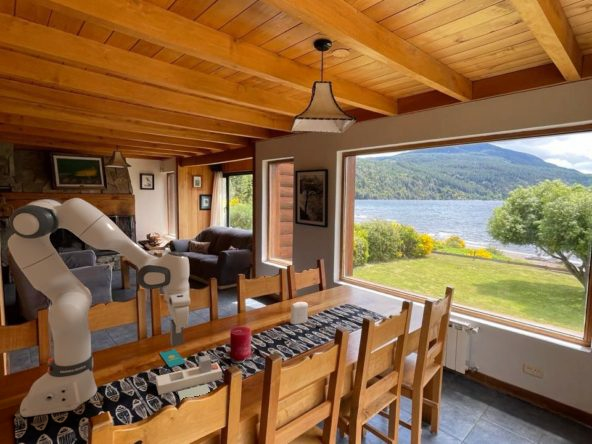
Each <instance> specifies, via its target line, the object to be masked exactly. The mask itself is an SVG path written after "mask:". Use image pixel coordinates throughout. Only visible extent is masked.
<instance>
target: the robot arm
mask: <svg viewBox="0 0 592 444" xmlns="http://www.w3.org/2000/svg"><path fill="white" fill-rule="evenodd" d="M9 217H10V218H9V227H10V229H11V230H12V232H13V234H11V236H10V237H9V238H8V241H7V247H8V249H9V252H10V254H11V256H12V258H13V260H14V262H15V263H16V265H17V266H18V267H19V269H20V270H21V272H22V273H23V274H24V276H25V277H26V279H27V280H28V282H29V283H30V284H31V286H32V287H33V289H35V290H36V291H38V292H41V293H42V294H43V295H44V296H46V297H47V298H48V299H49V300H50V301H51V303H52V304H51V306H50V307H49V309H48V315H47V317H48V318H47V319H48V320H47V321H48V324H49V326H50V332H51V336H52V339H53V355H54V356H53V357H50V358H48V360H47V371H46V373H45V374H43V375H42V376H41V377H39V378H38V379H36V380H35V381H34V382H33V383H32V385H31V386H30V389H29V392H28V394H27V395H26V396H25V397H24V398H23V399H22V401H21V403H20V406H19V415H20V416H21V417H23V418H28V417H35V416H41V415H48V414H54V413H60V412H69V411H73V410H75V409H77V408H78V407H80V405H82V404H83V403H85V402H87V401H88V400H91V398H93V397H94V396H95V395H96V394H97V391H98V387H97V384H96V382H95V377H94V371H93V369H94V357H93V353H92V336H91V335H92V334H91V331H90V324H89V311H90V307H91V305H92V302H93V297H92V293H91V290H90V289H89V288H88V287H87V286H85V285H84V284H83V283H82V282H81V281H80V279H79V278H78V277H76V276H75V275H74V274H73V273H72V272H71V270H70V269H69V267H68V266H67V265H66V263H65V262H64V260H63V259H62V257H61V256H60V255H59V253H58V251H57V250H56V248H55V247H54V245H52V242H51V239H50V235H51V234H54V233H55V232H56V231H57V230H58V229H66V230H67V231H69V232H71V233H73V234H74V235H75V236H76V237H78V238H79V239H80V240H81V241H82V242H84V244H86V245H88V246H90V247H92V248H93V249H95V250H102V251H103V250H107V251H108V250H109V251H114V252H116V253H118V254H119V255H122V256H123V257H124V258H126V259H127V260H129V261H130V262H131V263H132V264H134V265H135V266H136V267H137V269H138V271H137V273H136V281H137V283H138V285H139V286H140V287H142V288H143V289H146V290H155V289H160V288H163V287H164V301H165V302H167V310H168V312H169V315H170V317H171V320H172V319H173V321H174V323H175V325H176V327H175V331H176V333H180V332H181V327H183V328H185V327H186V326H188V321H189V312H190V311H189V309H190V308H189V306H190V305H191V297H190V282H189V277H190V261H189V257H188V256H187V254H185V253H184V252H180V251H168V252H166V253H165V254H164V255H162V256H159V255H157V254H154V253H151V252H148V251H147V250H145V249H144V248H143V247H142V246H140V245H139V244H138V243H136V242H135V241H134V240H133V239H131V238H130V237H129V236H127V235H126V234H125V233H124V231H123V230H122V229H121V228H120V227H118V225H117V224H116V223H115V222H114V221H113V220H112V219H110V217H108V216H107V214H106V215H105V213H103V211H101V210H100V209H98V208H97V207H96V206H94V205H92V204H91V203H89V202H87V200H84V199H82V198H80V197H74V198H70V199H68V200H65V201H64V202H62V200H60V199H55V198H49V197H48V198H47V197H46V198H43V199H37V200H34V201H30V202H29V203H28V204H26V205H21V206H20V207H18V208H17V209H15V210H14V211H13V213H12V214H11V216H9Z"/></svg>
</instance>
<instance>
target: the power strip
mask: <svg viewBox="0 0 592 444" xmlns="http://www.w3.org/2000/svg"><path fill="white" fill-rule="evenodd" d="M222 379H223V370H222V368H221V367H220V365H219V364H218V362H214V363H212V358H211V356H210V355H209V354H208V355H202V356H199V357H198V366H196V367H191V368H187V369H182V370H179V371H174V372H169V373H166V374H165V373H164V374H161V375H156V376H155V387H156V390H157V393H158V395H159V396H160V395H164V394H167V393H168V394H169V393H172V392H177V391H181V390H185V389H189V388H193V387H197V386H201V385H205V384H207V383H211V382H214V381H218V380H222Z"/></svg>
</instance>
